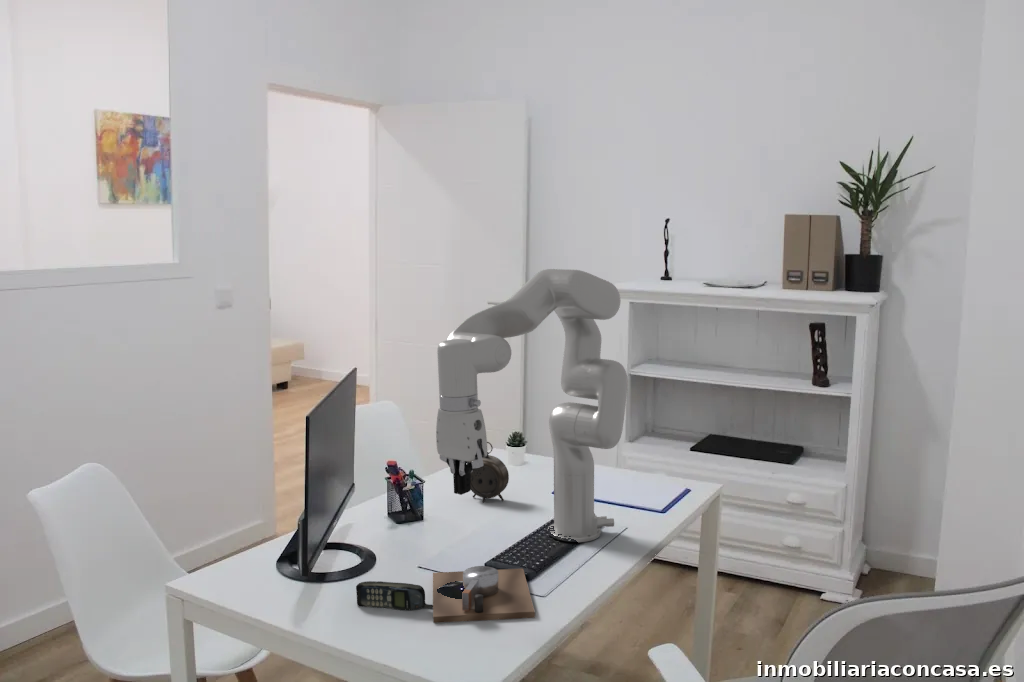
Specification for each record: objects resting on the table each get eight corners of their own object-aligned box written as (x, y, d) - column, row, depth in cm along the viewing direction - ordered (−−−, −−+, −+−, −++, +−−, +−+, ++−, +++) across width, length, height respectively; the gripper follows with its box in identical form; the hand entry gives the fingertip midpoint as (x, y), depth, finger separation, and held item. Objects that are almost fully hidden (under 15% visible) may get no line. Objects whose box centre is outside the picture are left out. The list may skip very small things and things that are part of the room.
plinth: (523, 573, 187) (523, 554, 187) (534, 617, 167) (534, 596, 166) (433, 578, 186) (432, 559, 185) (433, 622, 165) (432, 601, 164)
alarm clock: (509, 500, 237) (509, 440, 235) (502, 506, 232) (501, 445, 230) (472, 495, 241) (471, 437, 239) (464, 501, 236) (462, 442, 234)
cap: (469, 580, 180) (469, 564, 180) (502, 584, 178) (502, 567, 178) (447, 608, 167) (447, 591, 167) (483, 612, 165) (483, 594, 165)
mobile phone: (354, 585, 172) (428, 588, 169) (359, 578, 174) (433, 581, 172) (355, 609, 172) (430, 613, 169) (361, 602, 175) (434, 606, 172)
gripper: (500, 403, 172) (503, 494, 175) (444, 394, 181) (447, 481, 184) (474, 411, 166) (478, 504, 169) (418, 401, 176) (422, 490, 179)
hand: (462, 492), depth 177 cm, fingers closed
